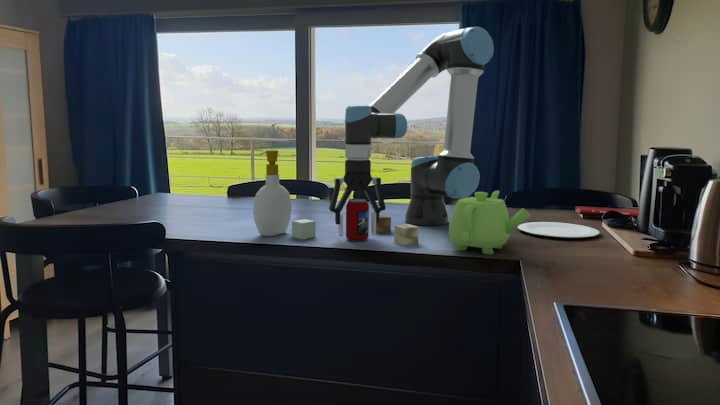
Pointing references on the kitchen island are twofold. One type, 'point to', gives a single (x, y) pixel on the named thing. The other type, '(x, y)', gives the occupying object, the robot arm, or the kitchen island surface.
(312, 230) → the sage painted cube
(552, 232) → the plate
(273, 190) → the soap bottle
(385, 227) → the walnut cube
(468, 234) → the teapot
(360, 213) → the beverage can
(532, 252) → the kitchen island surface
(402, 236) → the maple cube
